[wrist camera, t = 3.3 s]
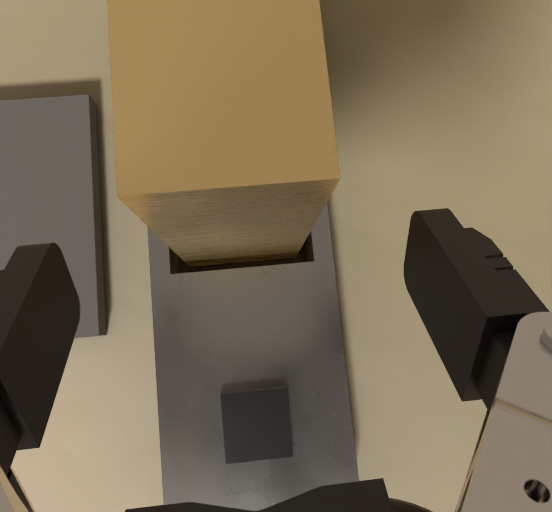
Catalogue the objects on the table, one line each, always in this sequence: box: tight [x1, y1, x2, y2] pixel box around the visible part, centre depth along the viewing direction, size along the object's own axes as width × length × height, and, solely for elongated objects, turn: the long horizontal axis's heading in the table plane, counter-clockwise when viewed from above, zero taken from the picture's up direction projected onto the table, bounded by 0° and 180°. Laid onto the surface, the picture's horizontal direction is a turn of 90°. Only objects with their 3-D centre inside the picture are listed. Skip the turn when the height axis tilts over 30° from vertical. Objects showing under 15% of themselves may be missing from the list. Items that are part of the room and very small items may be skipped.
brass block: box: [107, 0, 340, 267], centre depth 16 cm, size 4×4×11 cm
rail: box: [148, 203, 359, 511], centre depth 20 cm, size 24×7×2 cm, turn 5°
